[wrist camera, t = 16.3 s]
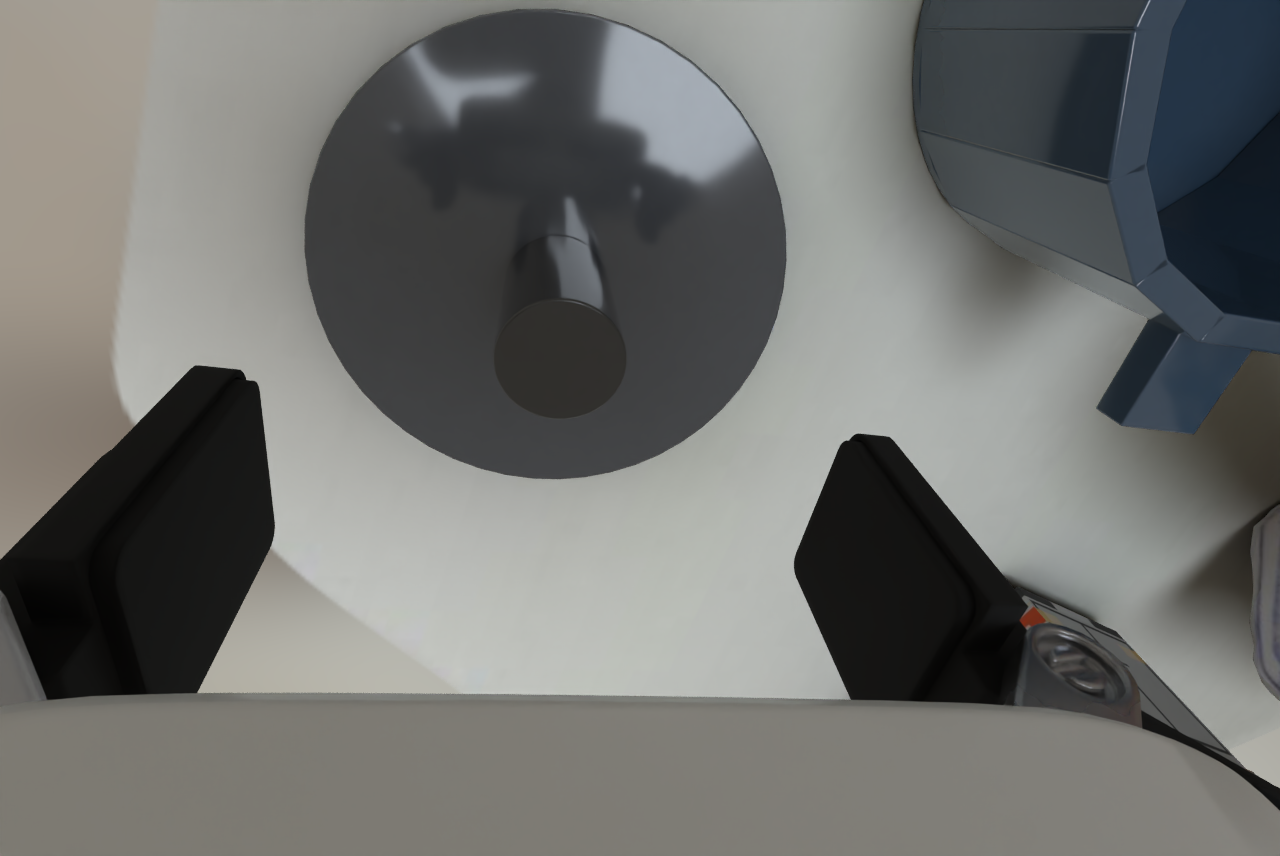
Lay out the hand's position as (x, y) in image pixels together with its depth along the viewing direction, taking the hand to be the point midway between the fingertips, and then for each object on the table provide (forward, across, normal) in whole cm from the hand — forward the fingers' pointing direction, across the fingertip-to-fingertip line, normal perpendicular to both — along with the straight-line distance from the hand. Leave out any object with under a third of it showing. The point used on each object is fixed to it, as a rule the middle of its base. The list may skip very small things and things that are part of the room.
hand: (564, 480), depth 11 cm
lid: (+12, 0, +1) cm, 12 cm away
